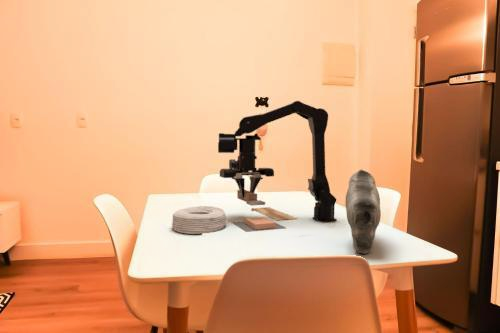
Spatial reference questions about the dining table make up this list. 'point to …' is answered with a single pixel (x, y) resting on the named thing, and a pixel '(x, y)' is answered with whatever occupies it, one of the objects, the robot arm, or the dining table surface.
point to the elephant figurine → (363, 210)
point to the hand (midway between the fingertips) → (247, 196)
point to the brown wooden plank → (249, 198)
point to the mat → (250, 229)
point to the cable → (199, 220)
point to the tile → (260, 223)
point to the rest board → (273, 214)
